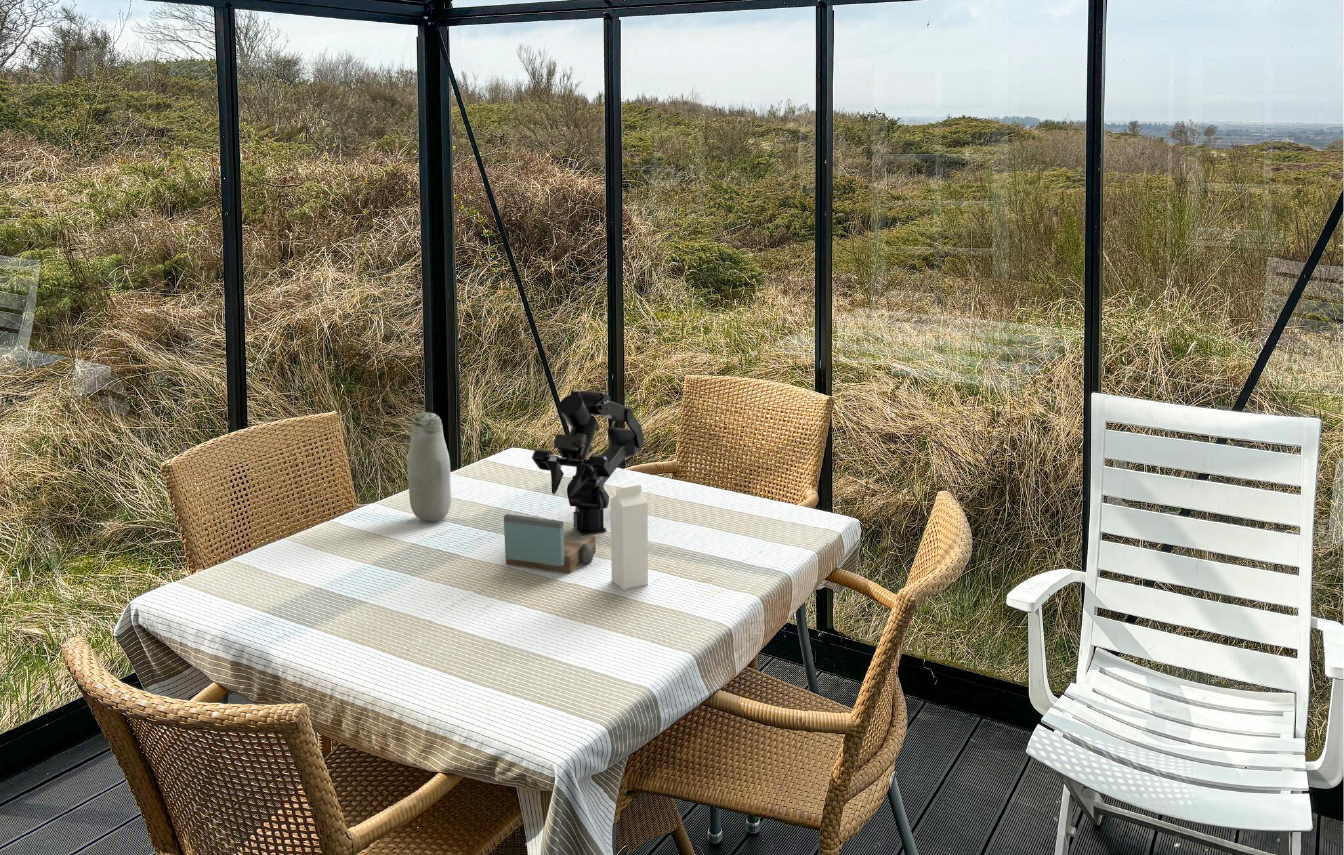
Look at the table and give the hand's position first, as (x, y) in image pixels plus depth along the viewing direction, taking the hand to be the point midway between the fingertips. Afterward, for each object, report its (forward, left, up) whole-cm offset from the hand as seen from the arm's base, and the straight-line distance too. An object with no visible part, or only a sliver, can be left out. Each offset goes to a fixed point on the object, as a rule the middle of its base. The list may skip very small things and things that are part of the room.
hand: (561, 494), depth 268 cm
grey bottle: (+24, -33, -14) cm, 43 cm away
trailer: (+4, +4, -14) cm, 15 cm away
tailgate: (+11, +11, -12) cm, 19 cm away
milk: (-7, +26, -14) cm, 30 cm away
